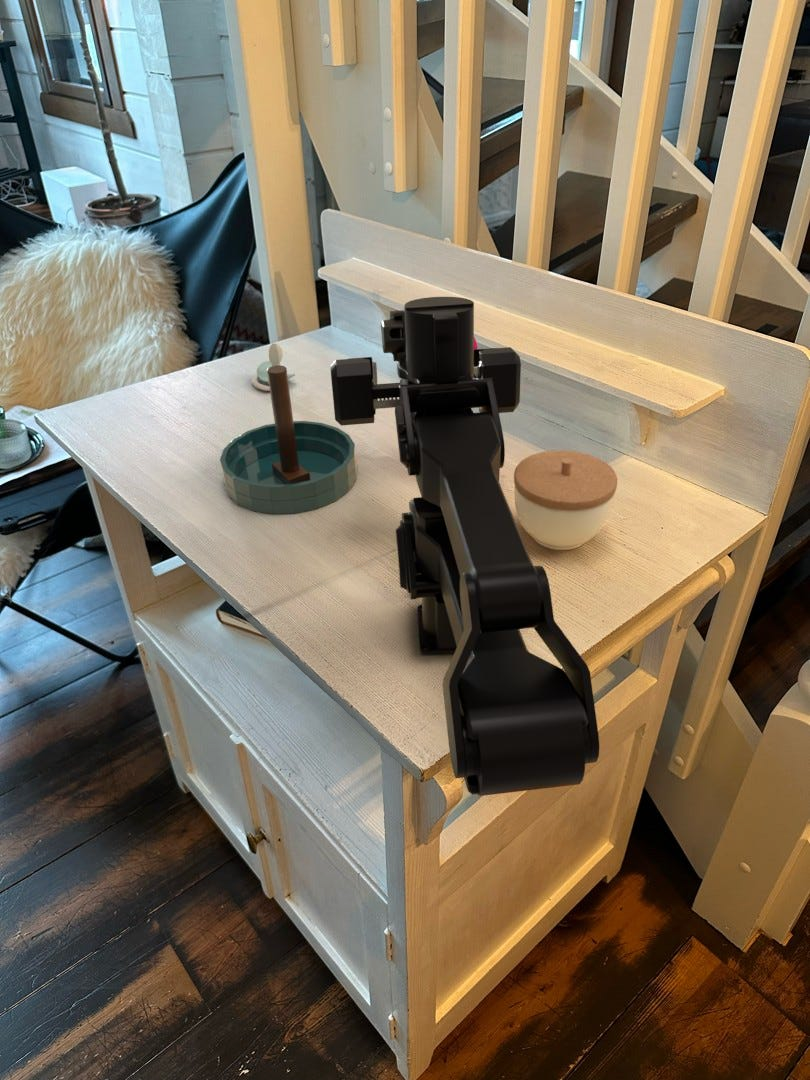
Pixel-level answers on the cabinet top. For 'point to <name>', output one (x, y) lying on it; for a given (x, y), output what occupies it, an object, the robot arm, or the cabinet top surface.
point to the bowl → (318, 453)
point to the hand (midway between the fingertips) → (415, 363)
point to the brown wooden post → (284, 428)
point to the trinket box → (563, 497)
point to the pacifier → (275, 360)
